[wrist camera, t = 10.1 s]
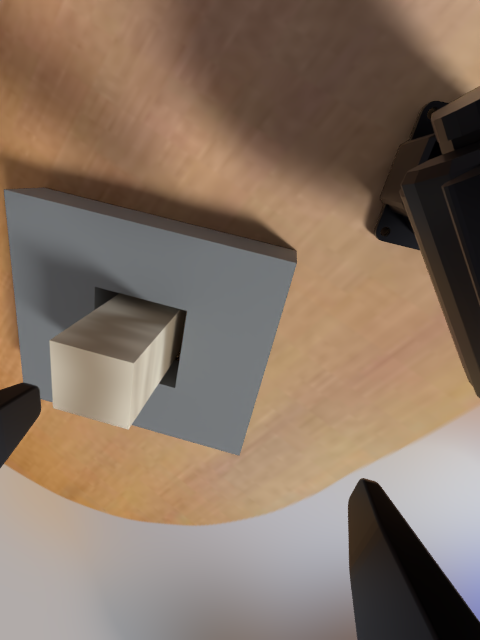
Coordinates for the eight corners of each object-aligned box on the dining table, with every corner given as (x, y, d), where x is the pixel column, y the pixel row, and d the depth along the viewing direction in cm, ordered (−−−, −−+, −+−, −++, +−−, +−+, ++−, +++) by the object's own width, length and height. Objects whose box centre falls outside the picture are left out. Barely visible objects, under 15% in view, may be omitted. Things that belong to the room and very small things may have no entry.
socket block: (296, 250, 19) (296, 263, 16) (245, 425, 25) (239, 455, 22) (43, 187, 20) (3, 189, 17) (52, 371, 26) (24, 394, 23)
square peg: (187, 300, 21) (133, 363, 14) (180, 350, 23) (128, 429, 16) (131, 285, 22) (49, 340, 14) (127, 336, 23) (53, 408, 16)
